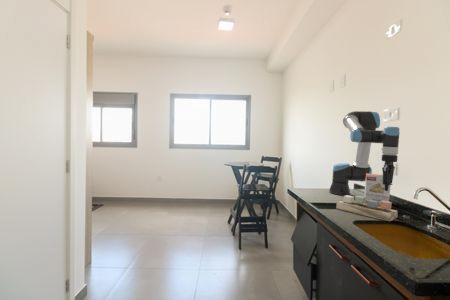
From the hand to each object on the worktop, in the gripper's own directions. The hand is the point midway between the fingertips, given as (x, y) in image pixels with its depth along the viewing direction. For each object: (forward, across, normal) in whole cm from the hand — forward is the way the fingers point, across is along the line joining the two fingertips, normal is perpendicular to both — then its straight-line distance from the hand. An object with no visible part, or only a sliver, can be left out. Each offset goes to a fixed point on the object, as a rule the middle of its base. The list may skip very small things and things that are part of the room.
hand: (386, 196), depth 156 cm
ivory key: (+10, 0, -21) cm, 23 cm away
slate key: (+10, 0, -7) cm, 13 cm away
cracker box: (+12, -22, -13) cm, 28 cm away
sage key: (+9, 0, -14) cm, 17 cm away
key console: (+12, 0, -11) cm, 16 cm away
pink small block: (+9, 0, 0) cm, 9 cm away
